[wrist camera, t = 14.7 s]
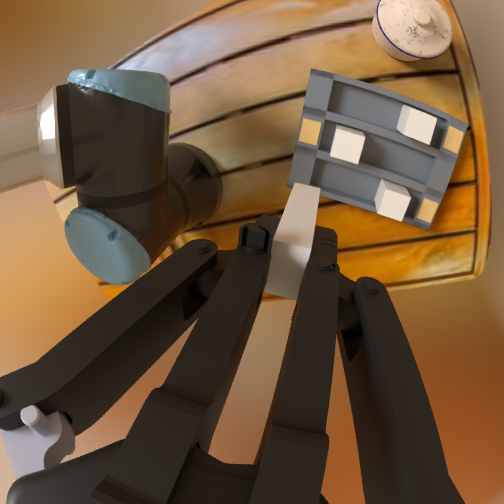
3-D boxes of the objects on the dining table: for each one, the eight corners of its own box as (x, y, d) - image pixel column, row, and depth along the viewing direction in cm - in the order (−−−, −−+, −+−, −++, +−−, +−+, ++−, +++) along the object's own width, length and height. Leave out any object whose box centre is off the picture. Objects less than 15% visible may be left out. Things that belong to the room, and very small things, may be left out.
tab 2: (374, 199, 40) (377, 213, 36) (381, 176, 38) (386, 188, 34) (396, 206, 39) (401, 221, 35) (404, 184, 37) (411, 197, 33)
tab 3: (396, 128, 34) (403, 134, 30) (402, 104, 32) (410, 107, 28) (419, 137, 33) (429, 144, 29) (426, 113, 31) (437, 118, 27)
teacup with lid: (442, 55, 27) (475, 49, 17) (387, 70, 31) (404, 65, 22) (403, -17, 22) (422, -46, 13) (347, -3, 26) (348, -32, 17)
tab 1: (331, 147, 38) (329, 156, 34) (337, 123, 36) (336, 128, 32) (356, 155, 37) (357, 164, 33) (362, 131, 35) (365, 137, 31)
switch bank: (290, 178, 44) (286, 186, 41) (313, 69, 34) (310, 68, 31) (423, 220, 41) (428, 231, 38) (459, 120, 31) (468, 124, 28)
